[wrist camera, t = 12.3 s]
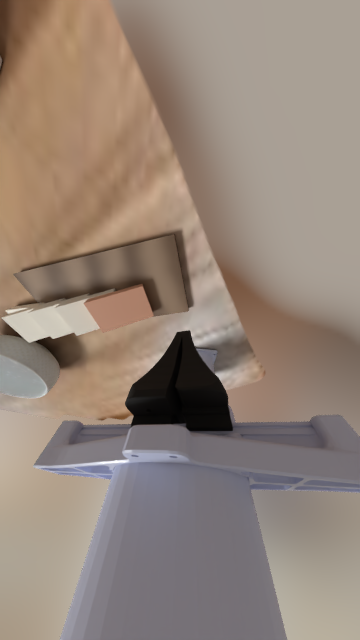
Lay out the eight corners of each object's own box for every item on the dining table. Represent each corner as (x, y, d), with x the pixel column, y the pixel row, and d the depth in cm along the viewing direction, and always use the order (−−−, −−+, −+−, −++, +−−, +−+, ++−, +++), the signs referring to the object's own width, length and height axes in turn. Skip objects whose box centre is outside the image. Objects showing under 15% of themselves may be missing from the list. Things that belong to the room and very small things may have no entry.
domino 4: (113, 291, 19) (54, 308, 18) (127, 319, 22) (76, 335, 20) (114, 288, 20) (59, 303, 19) (127, 315, 23) (80, 330, 22)
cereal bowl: (60, 379, 38) (37, 406, 32) (-9, 350, 32) (-53, 376, 26) (81, 352, 31) (56, 380, 25) (-3, 308, 25) (-62, 330, 19)
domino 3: (86, 296, 20) (27, 312, 18) (103, 323, 22) (52, 339, 21) (89, 293, 21) (34, 308, 20) (105, 318, 24) (57, 333, 22)
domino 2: (60, 300, 20) (1, 317, 19) (79, 326, 23) (29, 342, 22) (64, 297, 22) (9, 313, 20) (82, 322, 24) (34, 337, 23)
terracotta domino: (142, 286, 18) (83, 303, 17) (153, 316, 21) (103, 332, 20) (142, 283, 20) (87, 299, 18) (152, 311, 22) (105, 327, 21)
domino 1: (33, 306, 21) (4, 310, 23) (55, 331, 24) (27, 332, 26) (43, 302, 22) (15, 306, 24) (63, 325, 25) (36, 327, 27)
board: (174, 234, 17) (173, 234, 16) (188, 308, 23) (188, 311, 22) (20, 272, 21) (12, 273, 20) (65, 327, 27) (61, 330, 26)
